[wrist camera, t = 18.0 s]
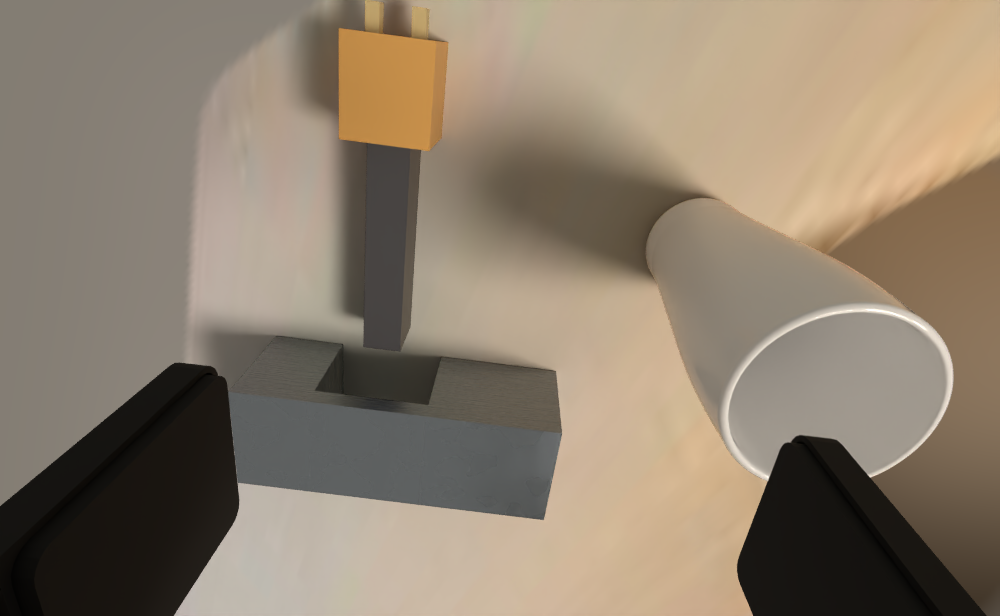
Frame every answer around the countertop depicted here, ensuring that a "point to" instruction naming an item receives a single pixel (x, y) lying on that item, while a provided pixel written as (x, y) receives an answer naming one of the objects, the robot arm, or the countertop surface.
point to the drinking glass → (793, 341)
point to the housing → (398, 433)
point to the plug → (391, 154)
